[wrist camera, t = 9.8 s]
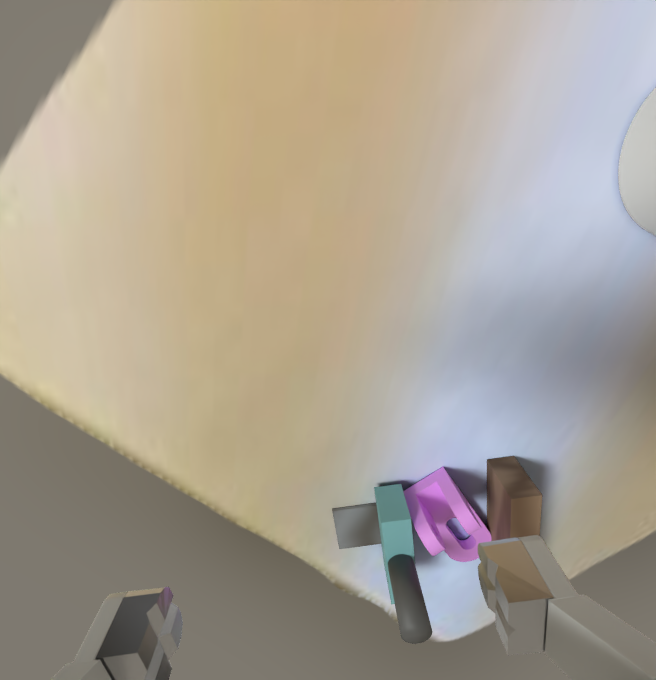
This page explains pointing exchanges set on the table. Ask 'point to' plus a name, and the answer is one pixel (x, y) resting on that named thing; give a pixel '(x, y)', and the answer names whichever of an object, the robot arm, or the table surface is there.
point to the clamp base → (502, 508)
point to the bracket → (444, 517)
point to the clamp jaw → (401, 564)
